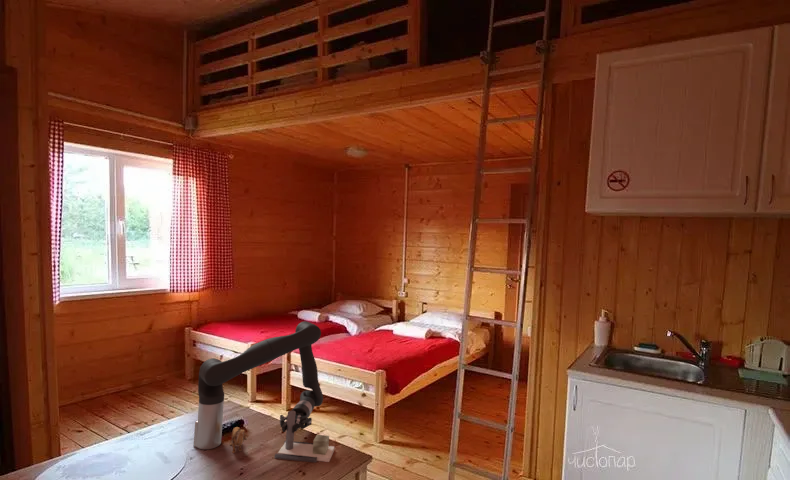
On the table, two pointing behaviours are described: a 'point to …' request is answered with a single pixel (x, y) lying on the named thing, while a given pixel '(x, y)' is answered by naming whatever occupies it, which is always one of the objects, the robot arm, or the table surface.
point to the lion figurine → (238, 438)
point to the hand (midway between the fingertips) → (288, 429)
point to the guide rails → (296, 456)
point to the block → (320, 444)
